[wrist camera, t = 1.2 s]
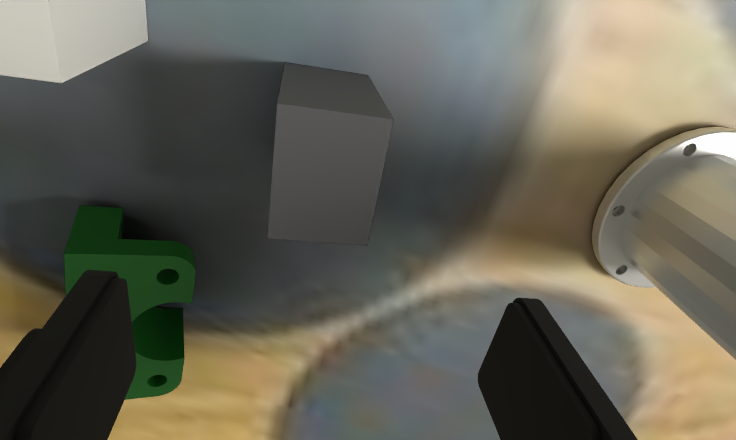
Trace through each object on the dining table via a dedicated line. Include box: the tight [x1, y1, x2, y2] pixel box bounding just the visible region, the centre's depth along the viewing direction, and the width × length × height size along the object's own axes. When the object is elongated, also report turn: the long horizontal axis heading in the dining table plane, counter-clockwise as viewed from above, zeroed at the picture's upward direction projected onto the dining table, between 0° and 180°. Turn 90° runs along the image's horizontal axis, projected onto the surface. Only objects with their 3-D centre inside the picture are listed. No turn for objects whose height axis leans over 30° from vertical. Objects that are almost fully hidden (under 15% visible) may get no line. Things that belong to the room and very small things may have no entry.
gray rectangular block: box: [268, 62, 394, 246], centre depth 21 cm, size 4×6×8 cm
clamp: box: [64, 205, 196, 400], centre depth 26 cm, size 12×6×9 cm, turn 158°
